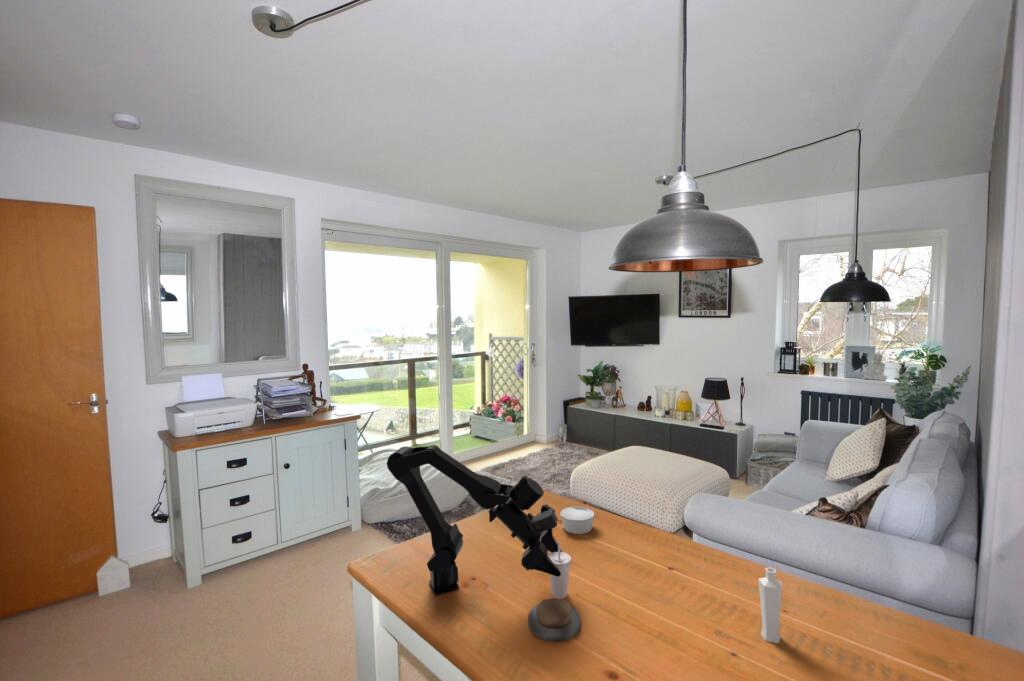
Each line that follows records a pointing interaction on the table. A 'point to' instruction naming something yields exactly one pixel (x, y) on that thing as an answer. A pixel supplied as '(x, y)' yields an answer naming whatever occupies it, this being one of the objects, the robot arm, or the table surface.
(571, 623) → the pedestal
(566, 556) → the white drink cup
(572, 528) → the ramekin
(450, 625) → the table surface
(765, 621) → the perfume bottle
